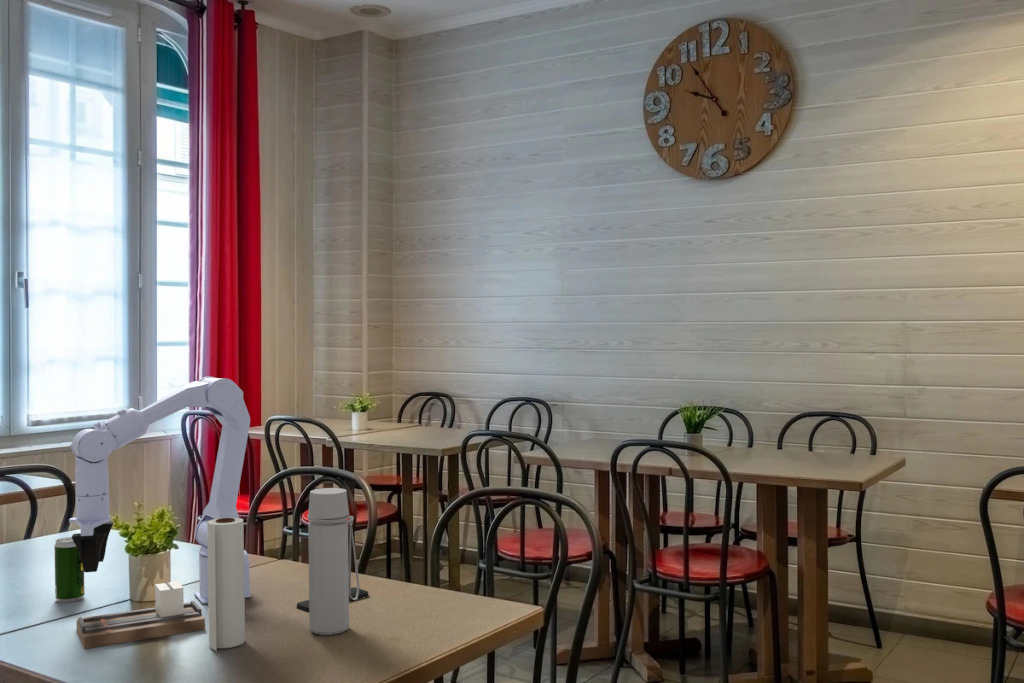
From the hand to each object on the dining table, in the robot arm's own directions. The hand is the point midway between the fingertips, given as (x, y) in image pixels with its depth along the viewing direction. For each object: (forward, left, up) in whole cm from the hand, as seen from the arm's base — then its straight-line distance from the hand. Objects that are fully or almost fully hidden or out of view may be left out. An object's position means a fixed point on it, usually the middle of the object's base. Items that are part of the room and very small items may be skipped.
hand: (94, 566), depth 183 cm
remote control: (-42, +12, -11) cm, 45 cm away
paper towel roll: (-17, +27, -10) cm, 34 cm away
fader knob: (-11, +11, -7) cm, 18 cm away
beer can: (+3, -17, -10) cm, 20 cm away
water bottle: (-36, +29, -10) cm, 48 cm away
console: (-6, +11, -10) cm, 16 cm away
